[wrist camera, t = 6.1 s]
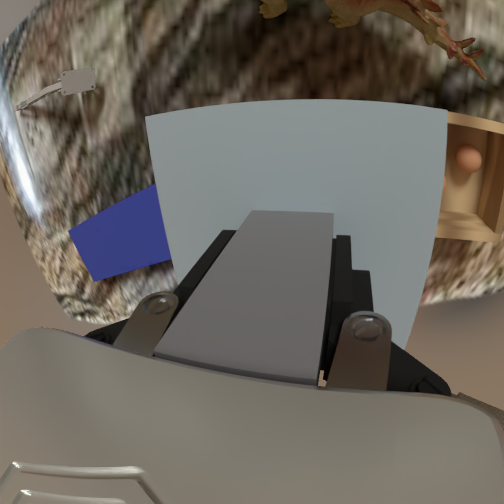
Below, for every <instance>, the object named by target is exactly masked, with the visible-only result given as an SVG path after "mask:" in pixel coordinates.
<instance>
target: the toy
mask: <svg viewBox="0 0 504 504" xmlns="http://www.w3.org/2000/svg"><path fill="white" fill-rule="evenodd" d="M261 1H263V3H264V4H263V5H261V6H259V7H260V9H261V10H260V11H259V12H258V13H261V14H263V17H264V18H267V19H268V18H274V17H277V16H279V15H280V14H282V13H284V12H285V11H286V10H287V1H286V0H261ZM324 2H325V4H326V5H327V6H328V7H329V8H330V9H331V10H332V12H330V13H329V14H330V15H331V17H332V18H331V19H329V22H331V23H334V25H335V27H337V28H345V27H351V26H353V25H356V24H357V23H358V22H359V20H360V18H361V16H365V15H367V14H370V13H372V12H375V11H377V10H380V11H383V12H387V13H390V14H393V15H395V16H397V17H399V18H401V19H403V20H405V21H407V22H408V23H410V24H411V25H412V26H414V27H415V28H416V29H417V30H419V31H420V32H421V33H422V34H423V35H424V39H425V41H426V43H427V44H428V45H432V44H433V43H436V44H437V45H438V46H440V47H441V48H443V49H444V50H446V52H447V55H448V58H449V59H453V56H454V57H456V58H457V59H459V60H460V62H461V65H463V66H466V65H467V66H469V67H470V68H471V69H472V70H474V71H475V72H476V73H477V75H478V76H479V77H480V78H481V79H483V80H484V81H485V80H486V78H485V76H484V74H483V72H482V70H481V68H480V67H479V66H478V65H477V64H476V63H475V60H476V59H477V58H478V57H480V56H481V55H482V53H483V52H484V51H485V49H480V50H477V51H475V52H472V53H470V54H465V53H464V52H463V48H465V47H467V46H469V45H470V44H472V43H473V42H474V41H475V39H476V38H469V39H466V40H463V41H453V40H451V39H450V37H449V36H448V35H447V33H446V32H445V30H444V28H445V27H447V25H448V22H447V21H445V20H443V19H440V18H435V17H434V16H433V15H432V14H431V13H430V12H429V10H430V11H433V12H443V10H442V9H441V7H440V6H439V5H438V4H436V3H435V2H433V1H432V0H324Z"/></svg>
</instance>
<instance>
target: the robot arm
mask: <svg viewBox="0 0 504 504" xmlns="http://www.w3.org/2000/svg"><path fill="white" fill-rule="evenodd" d="M236 231H237V230H222V231H221V232H220V234H219V235H218V236H217V237H216V238H215V240H214V241H213V242H212V243H211V245H210V246H209V247H208V248H207V250H206V251H205V252H204V253H203V255H202V256H201V257H200V258H199V260H198V261H197V262H196V263H195V265H194V266H193V267H192V268H191V270H190V271H189V272H188V274H187V275H186V276H185V277H184V279H183V280H182V281H181V282H180V284H179V285H178V287H177V288H176V290H175V291H174V292H173V293H171V292H166V291H163V292H156V293H153V294H150V295H148V296H146V297H145V298H144V299H142V300H141V302H140V303H139V304H138V306H137V307H136V309H135V310H134V312H133V313H132V315H131V317H130V318H128V319H125V320H122V321H120V322H117V323H114V324H111V325H108V326H105V327H103V328H100V329H97V330H94V331H92V332H89V333H88V334H87V335H85V336H81V335H77V334H74V333H71V332H67V331H64V330H59V329H54V328H43V327H41V328H30V329H26V330H22V331H20V332H19V333H17V334H16V335H14V336H13V337H12V338H11V339H10V340H9V341H8V342H7V343H5V345H3V346H2V347H1V349H0V504H504V411H503V410H500V409H498V408H496V407H493V406H491V405H488V404H486V403H484V402H481V401H479V400H476V399H474V398H472V397H470V396H467V395H465V394H463V393H460V392H459V393H458V395H455V394H452V393H451V390H450V388H449V386H448V384H447V383H446V382H445V381H444V380H443V379H442V378H441V377H440V376H438V375H437V374H435V373H434V372H433V371H431V370H430V369H429V368H427V367H426V366H425V365H423V364H422V363H421V362H419V361H418V360H417V359H415V358H414V357H413V356H411V355H410V354H409V353H407V352H406V351H404V350H403V349H402V348H400V347H399V346H398V345H396V344H395V343H394V342H392V341H391V339H392V327H391V324H390V323H389V321H388V320H387V319H386V318H385V317H384V316H382V315H380V314H378V313H375V312H374V308H373V297H372V287H371V277H370V271H369V270H354V269H352V253H351V235H336V238H332V251H331V264H330V276H329V287H328V297H327V308H326V319H325V330H324V340H323V349H322V358H321V366H320V370H324V376H323V380H326V381H327V383H326V386H325V387H322V386H312V385H303V384H294V383H286V382H279V381H272V380H265V379H258V378H252V377H246V376H240V375H235V374H229V373H224V372H218V371H213V370H209V369H204V368H199V367H194V366H190V365H185V364H181V363H177V362H173V361H169V360H165V359H160V358H157V357H155V354H154V352H153V350H154V349H155V347H156V346H157V344H158V343H159V341H160V340H161V338H162V337H163V336H164V334H165V333H166V331H167V330H168V328H169V327H170V325H171V324H172V322H173V321H174V319H175V318H176V317H177V315H178V314H179V312H180V311H181V309H182V308H183V306H184V305H185V304H186V302H187V301H188V299H189V298H190V296H191V295H192V293H193V292H194V291H195V289H196V288H197V286H198V285H199V283H200V282H201V281H202V279H203V278H204V276H205V275H206V273H207V272H208V271H209V269H210V268H211V266H212V265H213V264H214V262H215V261H216V259H217V258H218V257H219V255H220V254H221V252H222V251H223V250H224V248H225V247H226V245H227V244H228V243H229V241H230V240H231V238H232V237H233V236H234V234H235V233H236Z"/></svg>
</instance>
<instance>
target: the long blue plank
mask: <svg viewBox="0 0 504 504" xmlns="http://www.w3.org/2000/svg"><path fill="white" fill-rule="evenodd" d="M68 232H69V234H70V236H71V238H72V240H73V242H74V244H75V246H76V248H77V250H78V252H79V254H80V256H81V258H82V260H83V262H84V263H85V265H86V267H87V269H88V271H89V273H90V274H91V276H92V278H93V280H94V282H95V281H99V280H102V279H105V278H109V277H112V276H115V275H119V274H122V273H126V272H129V271H132V270H136V269H139V268H142V267H146V266H149V265H153V264H156V263H160V262H163V261H166V260H170V259H172V258H171V254H170V250H169V245H168V241H167V236H166V232H165V227H164V222H163V218H162V213H161V208H160V203H159V198H158V193H157V187H156V183H155V184H153V185H151V186H149V187H147V188H145V189H143V190H141V191H139V192H137V193H135V194H134V195H132V196H130V197H128V198H126V199H124V200H122V201H120V202H118V203H116V204H115V205H113V206H111V207H109V208H107V209H105V210H104V211H102V212H100V213H98V214H96V215H95V216H93V217H91V218H89V219H88V220H86V221H84V222H83V223H81V224H79V225H77V226H76V227H74V228H72V229H71V230H69V231H68Z"/></svg>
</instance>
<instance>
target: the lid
mask: <svg viewBox="0 0 504 504" xmlns="http://www.w3.org/2000/svg"><path fill="white" fill-rule="evenodd" d="M447 119H448V110H444V109H438V108H431V107H424V106H417V105H409V104H400V103H390V102H378V101H362V100H338V99H296V100H271V101H255V102H243V103H232V104H223V105H214V106H207V107H199V108H192V109H186V110H179V111H174V112H168V113H162V114H157V115H152V116H147V117H145V120H146V127H147V134H148V140H149V147H150V153H151V159H152V165H153V171H154V176H155V182H156V187H157V193H158V198H159V203H160V208H161V213H162V218H163V222H164V227H165V232H166V236H167V241H168V245H169V250H170V254H171V258H172V262H173V266H174V271H175V275H176V279H177V283H178V285H179V284H180V282H181V281H182V280H183V279H184V277H185V276H186V275H187V274H188V272H189V271H190V270H191V268H192V267H193V266H194V265H195V263H196V262H197V261H198V260H199V258H200V257H201V256H202V255H203V253H204V252H205V251H206V250H207V248H208V247H209V246H210V245H211V243H212V242H213V241H214V240H215V238H216V237H217V236H218V235H219V234H220V232H221V231H222V230H237V231H236V233H235V234H234V236H233V237H232V238H231V240H230V241H229V243H228V244H227V245H226V247H225V248H224V250H223V251H222V252H221V254H220V255H219V257H218V258H217V259H216V261H215V262H214V264H213V265H212V266H211V268H210V269H209V271H208V272H207V273H206V275H205V276H204V278H203V279H202V281H201V282H200V283H199V285H198V286H197V288H196V289H195V291H194V292H193V293H192V295H191V296H190V298H189V299H188V301H187V302H186V304H185V305H184V306H183V308H182V309H181V311H180V312H179V314H178V315H177V317H176V318H175V319H174V321H173V322H172V324H171V325H170V327H169V328H168V330H167V331H166V333H165V334H164V336H163V337H162V338H161V340H160V341H159V343H158V344H157V346H156V347H155V349H154V350H153V352H154V354H155V357H157V358H160V359H165V360H169V361H173V362H177V363H181V364H185V365H190V366H194V367H199V368H204V369H209V370H213V371H218V372H224V373H229V374H235V375H240V376H246V377H252V378H258V379H265V380H272V381H279V382H286V383H294V384H303V385H312V386H318V381H319V374H320V366H321V358H322V349H323V340H324V330H325V319H326V308H327V297H328V287H329V276H330V264H331V251H332V238H336V235H351V253H352V269H354V270H369V271H370V277H371V287H372V297H373V308H374V312H375V313H378V314H380V315H382V316H384V317H385V318H386V319H387V320H388V321H389V323H390V324H391V327H392V339H391V341H392V342H394V343H395V344H396V345H398V346H399V347H400V348H402V349H403V350H404V349H405V346H406V343H407V340H408V338H409V335H410V331H411V329H412V325H413V322H414V319H415V316H416V313H417V310H418V306H419V303H420V299H421V296H422V292H423V288H424V284H425V281H426V277H427V272H428V268H429V264H430V260H431V255H432V250H433V245H434V240H435V235H436V230H437V224H438V218H439V212H440V205H441V198H442V190H443V182H444V172H445V161H446V146H447Z"/></svg>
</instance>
